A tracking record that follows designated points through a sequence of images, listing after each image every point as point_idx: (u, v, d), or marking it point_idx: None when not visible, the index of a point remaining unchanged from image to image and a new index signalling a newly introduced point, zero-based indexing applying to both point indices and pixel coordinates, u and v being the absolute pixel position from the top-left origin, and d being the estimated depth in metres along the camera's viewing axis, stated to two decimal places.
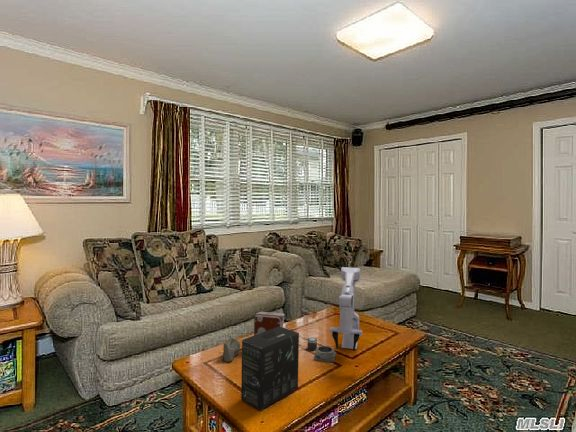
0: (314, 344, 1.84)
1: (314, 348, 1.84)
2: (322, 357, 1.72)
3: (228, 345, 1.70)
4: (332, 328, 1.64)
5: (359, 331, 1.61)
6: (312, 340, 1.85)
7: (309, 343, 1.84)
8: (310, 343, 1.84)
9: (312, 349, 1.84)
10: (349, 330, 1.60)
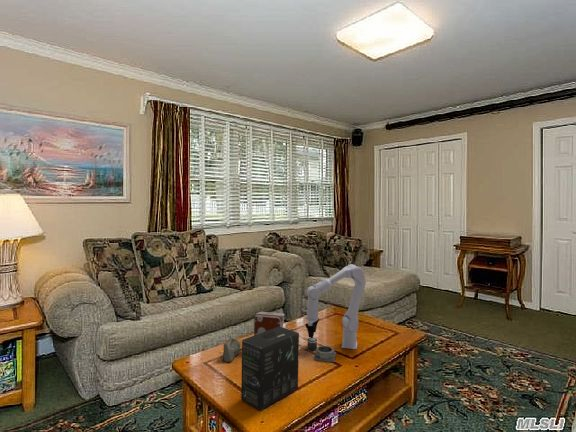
0: (314, 344, 1.84)
1: (314, 348, 1.84)
2: (322, 357, 1.72)
3: (228, 345, 1.70)
4: None
5: (310, 321, 1.79)
6: (312, 340, 1.85)
7: (309, 343, 1.84)
8: (310, 343, 1.84)
9: (312, 349, 1.84)
10: (307, 317, 1.84)
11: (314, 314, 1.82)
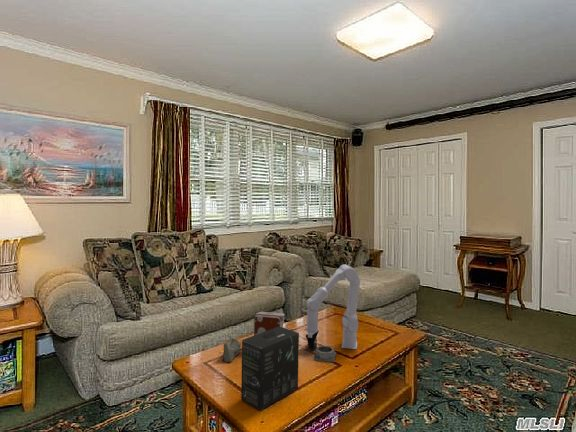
0: (314, 344, 1.84)
1: (314, 348, 1.84)
2: (322, 357, 1.72)
3: (228, 345, 1.70)
4: None
5: (310, 333, 1.80)
6: None
7: None
8: None
9: None
10: (307, 328, 1.84)
11: (314, 326, 1.83)
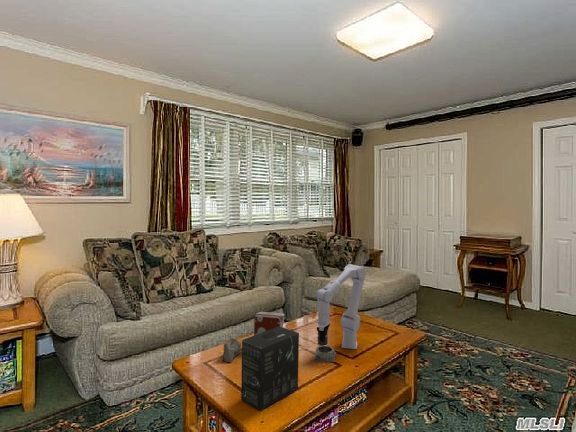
0: None
1: (324, 342, 1.75)
2: (322, 357, 1.72)
3: (228, 345, 1.70)
4: None
5: (321, 326, 1.71)
6: None
7: None
8: None
9: (322, 343, 1.75)
10: (318, 321, 1.76)
11: (325, 319, 1.74)
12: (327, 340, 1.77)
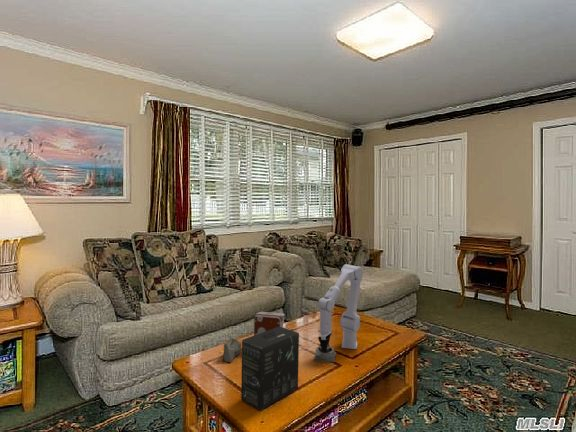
0: None
1: None
2: (322, 357, 1.72)
3: (228, 345, 1.70)
4: None
5: (323, 335, 1.70)
6: None
7: (321, 349, 1.75)
8: None
9: None
10: (320, 330, 1.75)
11: (327, 327, 1.73)
12: None
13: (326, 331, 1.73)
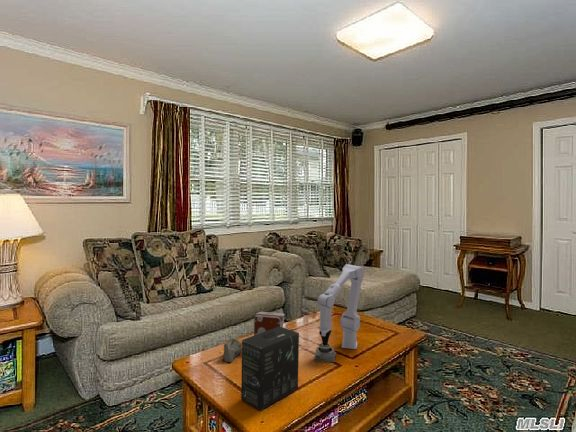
0: (326, 350, 1.74)
1: None
2: (322, 357, 1.72)
3: (228, 345, 1.70)
4: None
5: (323, 331, 1.70)
6: (324, 346, 1.75)
7: (321, 349, 1.75)
8: (321, 349, 1.74)
9: None
10: (320, 326, 1.74)
11: (327, 324, 1.73)
12: None
13: (326, 327, 1.73)
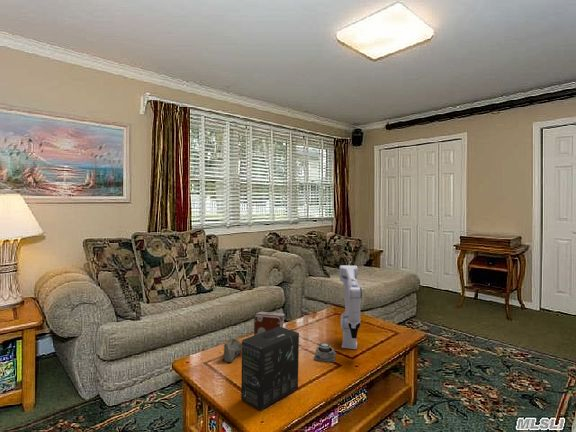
0: (326, 350, 1.74)
1: None
2: (322, 357, 1.72)
3: (228, 345, 1.70)
4: None
5: (353, 324, 1.69)
6: (324, 346, 1.75)
7: (321, 348, 1.75)
8: (321, 348, 1.74)
9: None
10: (349, 319, 1.73)
11: (357, 316, 1.72)
12: None
13: (355, 320, 1.72)
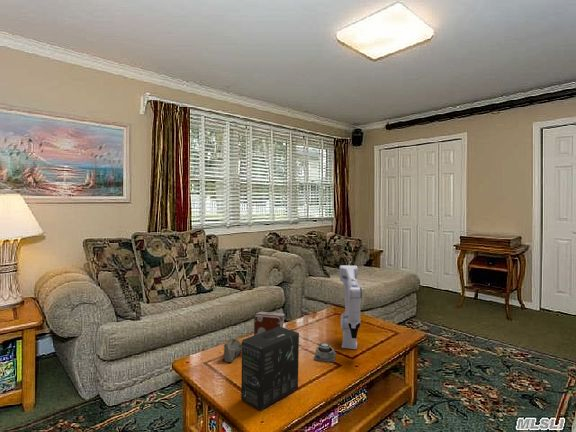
0: (326, 350, 1.74)
1: None
2: (322, 357, 1.72)
3: (228, 345, 1.70)
4: None
5: (353, 324, 1.69)
6: (324, 346, 1.75)
7: (320, 348, 1.75)
8: (321, 348, 1.74)
9: None
10: (349, 319, 1.73)
11: (357, 316, 1.72)
12: None
13: (355, 320, 1.72)
